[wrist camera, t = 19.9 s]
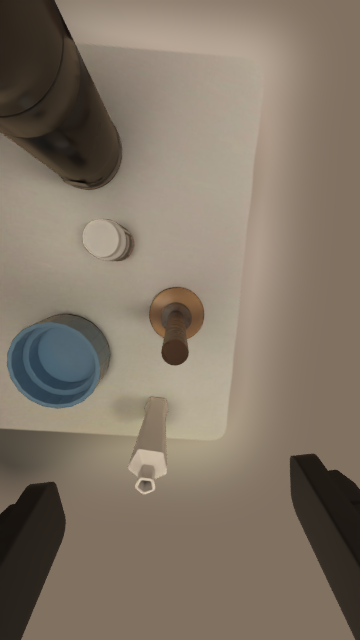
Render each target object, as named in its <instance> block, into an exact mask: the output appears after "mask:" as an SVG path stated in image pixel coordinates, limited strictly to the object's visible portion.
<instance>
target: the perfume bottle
mask: <svg viewBox="0 0 360 640" xmlns="http://www.w3.org/2000/svg"><path fill="white" fill-rule="evenodd" d="M145 413H146V414H145V417H144V420H143V423H142V426H141V429H140V432H139V435H138V438H137V441H136V445H135V447H134V450H133V453H132V456H131V459H130V462H129V466H128V469H129V470H130V471H131V472H132V473H134V474H135V475H136V476H137V477H138V480H137V483H136V485H135V488H136V489H137V490H138V491H139V492H141V493H142V494H144V495H145V494H147V493H149V492H152V491H154V490H155V485H154V482H155V479H156V478H158V477H161V476H163V475H166V474H167V457H166V456H167V455H166V417H165V416H166V415H167V413H168V408H167V402H166V399H164V398H157V397H150V399H149V401H148V402H147V404H146V406H145Z"/></svg>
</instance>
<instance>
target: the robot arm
mask: <svg viewBox="0 0 360 640" xmlns="http://www.w3.org/2000/svg"><path fill="white" fill-rule="evenodd" d="M0 132H1V133H2V134H4V135H5V136H7V137H8V138H9V139H11V140H12V141H13V142H15V143H16V144H17V145H19V146H20V147H21V148H23V149H24V150H26V151H27V152H28V153H30V154H31V155H32V156H34V157H35V158H36V159H38V160H39V161H40V162H42V163H43V164H45V165H46V166H47V167H49V168H50V169H51V170H53V171H54V172H55V173H57V174H58V175H59V176H60V177H61V178H62V179H64V180H63V181H64V182H66V183H67V184H71V185H73V186H75V187H78V188H81V189H96V188H99V187H101V186H103V185H105V184H107V183H108V182H109V181H110V180H111V179H112V178H113V177H114V176H115V174H116V173H117V171H118V169H119V166H120V163H121V158H122V146H121V141H120V137H119V135H118V132H117V130H116V128H115V126H114V124H113V123H112V121H111V119H110V117H109V115H108V112H107V110H106V108H105V106H104V104H103V102H102V100H101V98H100V95H99V93H98V91H97V89H96V87H95V85H94V83H93V81H92V79H91V76H90V74H89V72H88V70H87V68H86V66H85V64H84V62H83V59H82V57H81V55H80V53H79V51H78V49H77V47H76V45H75V42H74V41H73V38H72V37H71V34H70V32H69V30H68V28H67V26H66V24H65V22H64V20H63V17H62V15H61V13H60V11H59V9H58V7H57V5H56V3H55V0H0ZM290 480H291V497H292V502H293V506H294V509H295V512H296V514H297V517H298V519H299V521H300V523H301V525H302V527H303V529H304V532H305V534H306V536H307V538H308V540H309V542H310V544H311V546H312V548H313V551H314V553H315V555H316V557H317V559H318V561H319V563H320V565H321V568H322V570H323V572H324V574H325V576H326V578H327V580H328V583H329V585H330V587H331V589H332V591H333V593H334V595H335V597H336V600H337V601H338V604H339V606H340V607H341V610H342V612H343V614H344V616H345V619H346V620H347V623H348V625H349V627H350V629H351V631H352V633H353V636H354V638H355V640H360V489H359V488H358V487H357V485H356V484H355V483H354V482H353V481H351V480H350V479H349V478H347V477H346V476H345V475H343V474H342V473H340V472H339V471H338V470H330V471H328V470H327V469H326V468H325V466H324V465H323V463H322V462H321V461H320V459H319V458H318V457H317V456H316V455H315V454H305V455H296V456H291V457H290ZM65 521H66V520H65V514H64V511H63V507H62V504H61V500H60V496H59V493H58V489H57V486H56V484H55V483H54V482H47V483H37V484H30V485H29V486H27V487H26V489H25V490H24V492H23V493H22V494H21V496H20V497H19V499H18V501H17V502H16V503H15V504H12V505H10V506H9V507H8V508H6V510H4V511H3V512H2V513H1V514H0V640H21V638H22V635H23V633H24V631H25V629H26V626H27V624H28V621H29V619H30V617H31V614H32V611H33V609H34V607H35V605H36V602H37V600H38V597H39V595H40V593H41V590H42V588H43V585H44V583H45V580H46V578H47V576H48V573H49V571H50V568H51V566H52V563H53V561H54V559H55V556H56V554H57V551H58V549H59V547H60V544H61V542H62V539H63V536H64V532H65V524H66V522H65Z"/></svg>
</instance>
